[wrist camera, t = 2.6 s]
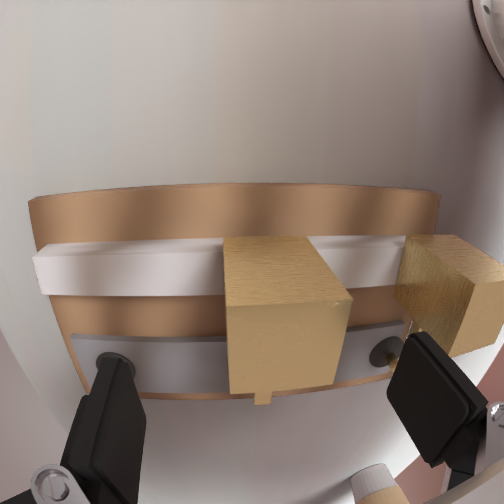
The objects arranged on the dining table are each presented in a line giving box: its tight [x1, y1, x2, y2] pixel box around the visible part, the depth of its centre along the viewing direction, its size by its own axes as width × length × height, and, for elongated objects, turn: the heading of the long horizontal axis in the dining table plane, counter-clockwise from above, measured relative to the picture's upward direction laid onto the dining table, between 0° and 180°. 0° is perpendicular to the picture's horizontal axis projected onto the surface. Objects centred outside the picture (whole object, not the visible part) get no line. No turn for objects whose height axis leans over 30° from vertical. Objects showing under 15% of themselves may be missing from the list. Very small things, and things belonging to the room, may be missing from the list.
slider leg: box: [223, 235, 352, 405], centre depth 14 cm, size 4×10×7 cm, turn 179°
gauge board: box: [28, 183, 440, 400], centre depth 18 cm, size 26×16×3 cm, turn 89°
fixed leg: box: [385, 235, 504, 373], centre depth 15 cm, size 4×10×7 cm, turn 179°
